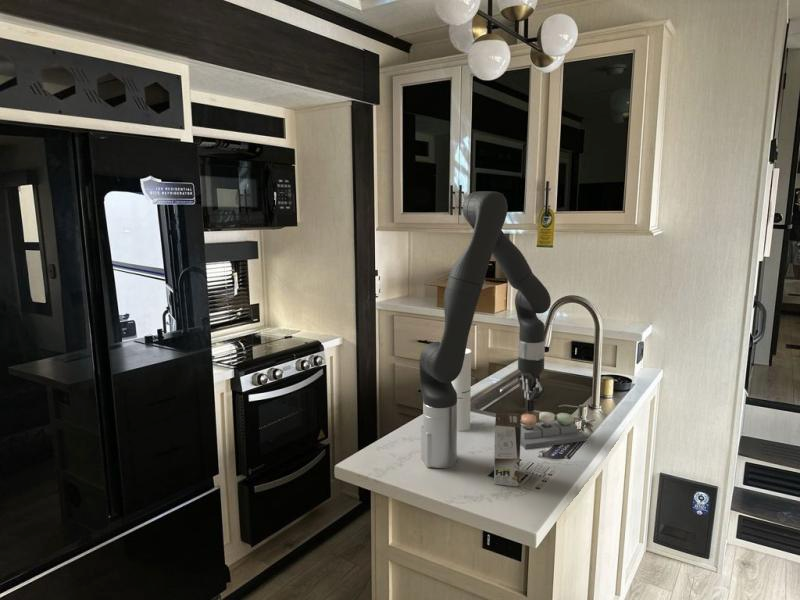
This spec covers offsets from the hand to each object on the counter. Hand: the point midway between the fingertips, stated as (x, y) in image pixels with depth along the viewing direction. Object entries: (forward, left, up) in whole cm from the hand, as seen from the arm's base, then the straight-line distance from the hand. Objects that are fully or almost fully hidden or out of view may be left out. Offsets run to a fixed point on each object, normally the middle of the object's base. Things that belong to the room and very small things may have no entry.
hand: (529, 410), depth 163 cm
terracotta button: (0, 0, -6) cm, 6 cm away
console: (+6, 0, -9) cm, 11 cm away
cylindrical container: (-17, +14, -9) cm, 24 cm away
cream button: (+6, 0, -6) cm, 8 cm away
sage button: (+12, 0, -7) cm, 14 cm away
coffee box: (-16, -19, -9) cm, 27 cm away
